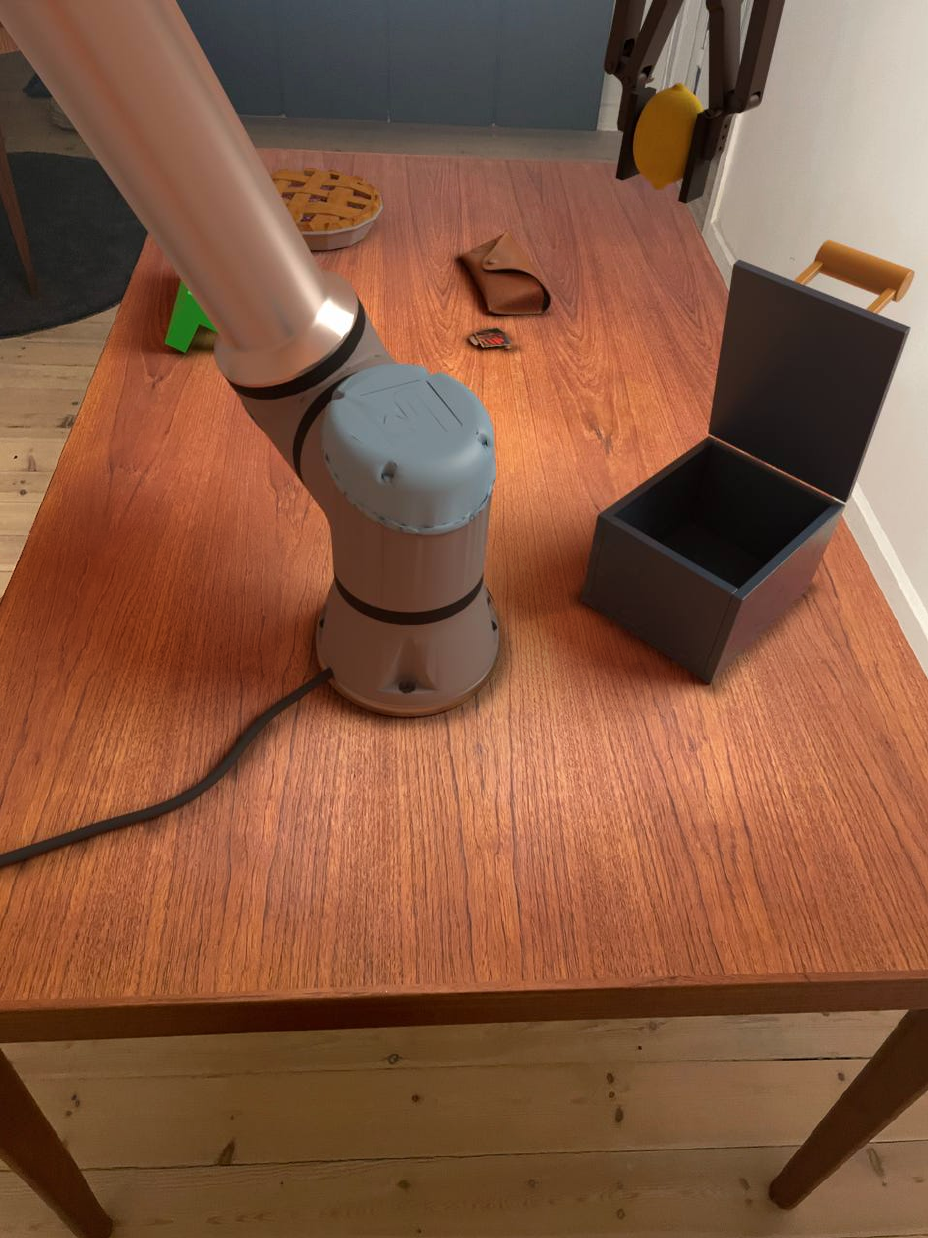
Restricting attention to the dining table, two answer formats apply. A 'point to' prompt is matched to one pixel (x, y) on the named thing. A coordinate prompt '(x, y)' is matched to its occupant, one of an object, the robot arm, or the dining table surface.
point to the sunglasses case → (507, 277)
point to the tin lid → (808, 366)
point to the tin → (707, 555)
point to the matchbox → (490, 338)
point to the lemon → (665, 135)
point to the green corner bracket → (185, 320)
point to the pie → (328, 206)
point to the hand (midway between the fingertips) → (658, 186)
